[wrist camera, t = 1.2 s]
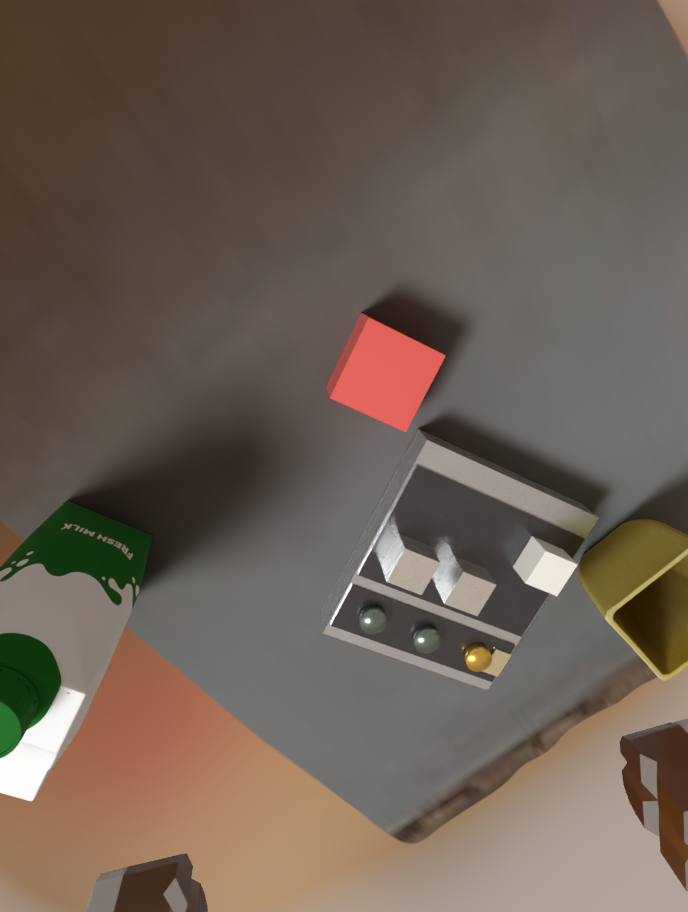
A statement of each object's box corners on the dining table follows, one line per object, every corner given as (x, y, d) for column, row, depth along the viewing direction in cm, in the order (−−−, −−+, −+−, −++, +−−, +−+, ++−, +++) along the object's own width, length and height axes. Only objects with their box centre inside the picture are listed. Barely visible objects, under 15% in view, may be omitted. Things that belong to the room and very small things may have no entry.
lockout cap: (361, 312, 41) (368, 317, 38) (432, 347, 43) (445, 355, 39) (325, 386, 43) (329, 397, 39) (395, 418, 44) (405, 432, 41)
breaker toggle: (532, 536, 45) (545, 550, 43) (562, 549, 46) (577, 564, 44) (512, 566, 46) (525, 583, 44) (543, 579, 47) (557, 596, 44)
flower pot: (548, 556, 50) (603, 617, 41) (629, 491, 49) (702, 539, 40) (602, 615, 53) (664, 684, 44) (680, 554, 51) (759, 613, 43)
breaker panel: (417, 428, 45) (436, 451, 39) (580, 502, 48) (618, 533, 43) (320, 611, 49) (325, 654, 44) (476, 667, 53) (498, 713, 48)
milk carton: (168, 530, 45) (89, 721, 27) (124, 619, 48) (22, 853, 29) (59, 484, 43) (-112, 656, 24) (18, 579, 45) (-168, 805, 27)
